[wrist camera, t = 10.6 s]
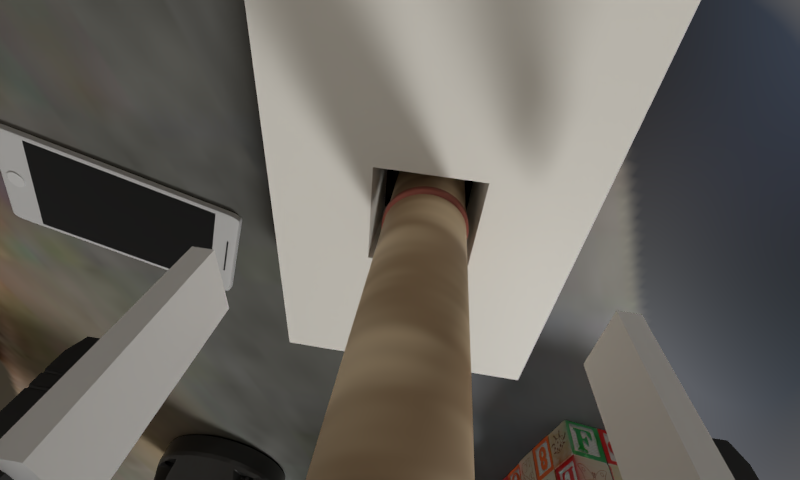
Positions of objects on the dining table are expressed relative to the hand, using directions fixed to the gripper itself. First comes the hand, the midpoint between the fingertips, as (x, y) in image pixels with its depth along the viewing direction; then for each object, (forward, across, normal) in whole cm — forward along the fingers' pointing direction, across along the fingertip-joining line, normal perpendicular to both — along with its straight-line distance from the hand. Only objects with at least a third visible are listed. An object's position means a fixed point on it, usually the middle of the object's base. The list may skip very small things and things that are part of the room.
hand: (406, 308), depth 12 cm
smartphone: (+11, +20, +6) cm, 23 cm away
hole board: (+10, 0, 0) cm, 10 cm away
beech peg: (+10, 0, 0) cm, 10 cm away
